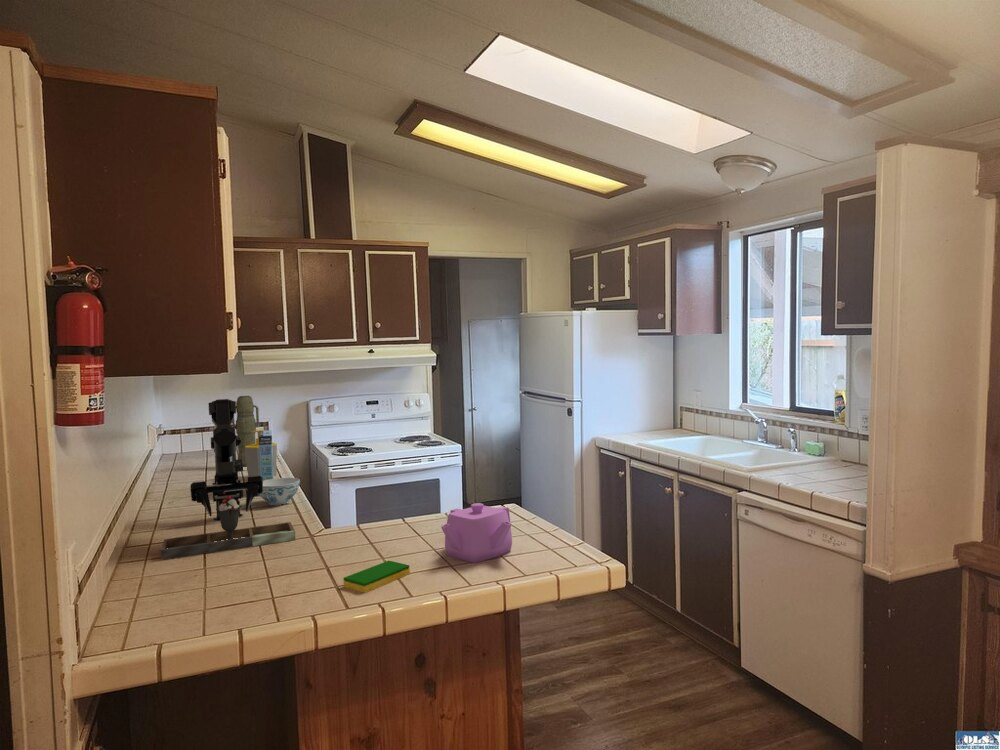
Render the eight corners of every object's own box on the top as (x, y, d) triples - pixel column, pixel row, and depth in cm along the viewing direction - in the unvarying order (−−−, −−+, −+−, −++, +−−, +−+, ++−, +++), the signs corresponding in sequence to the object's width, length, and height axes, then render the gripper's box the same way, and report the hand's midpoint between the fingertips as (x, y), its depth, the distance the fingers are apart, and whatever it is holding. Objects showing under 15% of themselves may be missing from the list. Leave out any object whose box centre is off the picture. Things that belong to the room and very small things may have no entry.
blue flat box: (261, 487, 257) (258, 431, 256) (274, 485, 259) (271, 430, 258) (260, 496, 239) (257, 436, 238) (274, 495, 240) (271, 434, 240)
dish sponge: (410, 575, 146) (410, 564, 146) (364, 594, 135) (364, 583, 135) (389, 570, 150) (388, 559, 150) (342, 588, 139) (342, 577, 139)
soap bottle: (251, 476, 282) (248, 429, 282) (281, 474, 284) (279, 427, 283) (242, 482, 269) (240, 432, 269) (274, 480, 271) (271, 431, 270)
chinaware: (284, 497, 236) (283, 476, 236) (309, 501, 227) (308, 479, 227) (247, 505, 224) (246, 483, 224) (273, 510, 215) (271, 487, 215)
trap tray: (161, 559, 164) (160, 550, 164) (164, 548, 174) (164, 539, 174) (295, 540, 177) (295, 531, 177) (290, 530, 188) (290, 522, 188)
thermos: (263, 468, 304) (259, 395, 303) (237, 471, 298) (233, 397, 297) (259, 466, 312) (255, 395, 311) (233, 469, 305) (229, 396, 304)
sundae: (218, 549, 171) (215, 494, 171) (216, 543, 177) (214, 489, 177) (244, 545, 174) (241, 490, 174) (242, 539, 180) (239, 486, 180)
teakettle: (511, 541, 168) (509, 495, 168) (513, 562, 151) (511, 510, 151) (447, 544, 168) (445, 498, 168) (442, 565, 151) (440, 513, 151)
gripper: (188, 453, 176) (189, 500, 166) (260, 447, 183) (265, 491, 173) (191, 477, 183) (192, 524, 173) (260, 470, 191) (264, 514, 181)
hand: (229, 513), depth 175 cm, fingers open, 9 cm apart
